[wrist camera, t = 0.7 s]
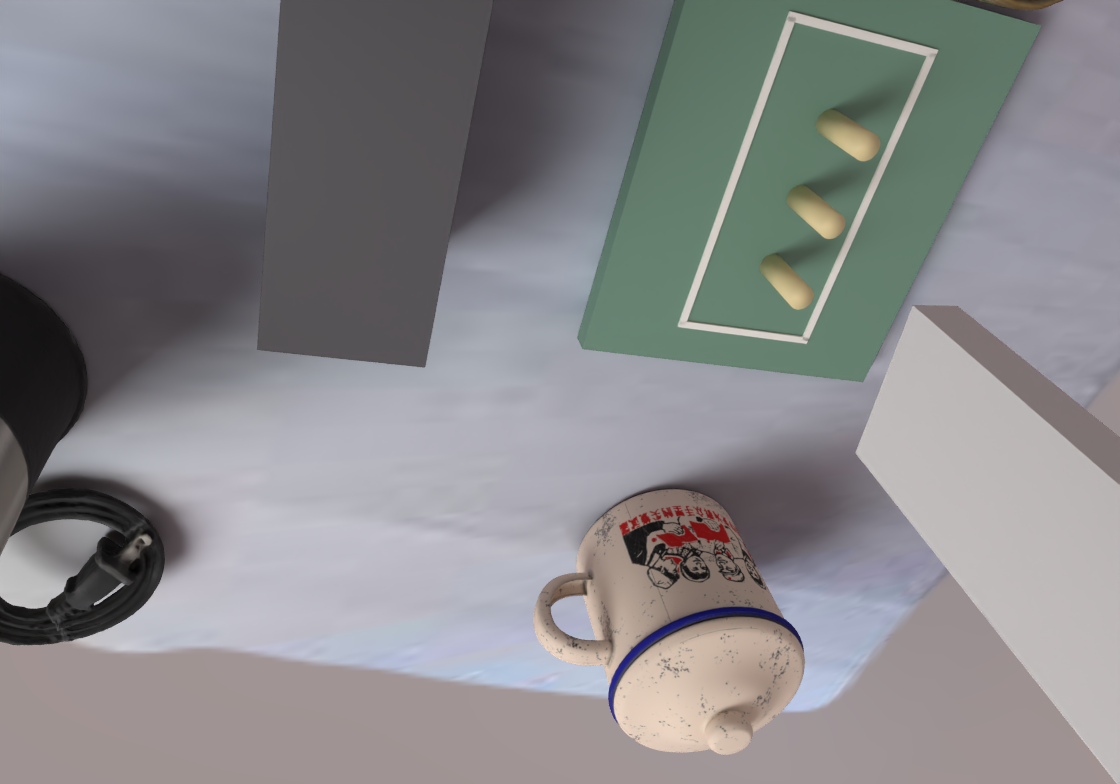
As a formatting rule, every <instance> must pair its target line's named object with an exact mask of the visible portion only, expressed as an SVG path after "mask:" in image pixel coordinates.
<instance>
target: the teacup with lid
mask: <svg viewBox="0 0 1120 784" xmlns="http://www.w3.org/2000/svg"><path fill="white" fill-rule="evenodd" d="M570 596H584V600H585V603H586V607H587V610H588V614H589V617H590V621H591V624H592V628H593V631H594V635H595V638H596V640H582V639H577V638H574V637H572V636H569V635H568V634H566V633H564V632H563V631H561V630H560V629H559V628H558V627H557V626H556V624H555V623H554V621H553V618H552V615H551V606H552V605H553V604H554V603H555V602H556V601H558V600H560V599H562V598H565V597H570ZM533 621H534V629H535V632H536V635H537V638H538V640H539V641H540V643H541V645H542V646H543V647H544V648H545V649H546V650H547V651H548V652H549V653H551V654H552V655H554V656H555V657H557V658H559V659H561V660H563V661H565V662H568V663H572V664H577V665H603V666H604V669H605V673H606V676H607V680H608V683H609V695H608V699H609V706H610V709H611V713H612V715H613V717H614V719H615V720H616V722H617V723H618V724H619V725H620V727H621V728H622V729H623V731H624V732H625V733H626V734H627V735H629V736H630V737H631V738H632V739H634V740H635V741H637V742H638V743H640V744H642V745H644V746H647V747H650V748H652V749H657V750H661V751H667V752H695V751H702V750H707V749H712V750H713V751H715V752H716V753H719V754H724V755H726V754H733V753H736V752H738V751H741V750H742V749H744V748H745V747H746V746H747V745H748V744H749V743H750V741H751V739H752V736H753V732H755V731H756V730H758V729H760V728H761V727H763V726H764V725H766V724H767V723H768V722H770V721H771V720H772V719H773V718H775V717H776V716H777V715H778V714H779V713H780V712H781V711H782V710H783V709H784V708H785V707H786V706H787V705H788V704H789V702H790V701H791V700H792V698H793V697H794V695H795V694H796V692H797V690H798V688H799V686H800V683H801V681H802V677H803V673H804V664H805V659H804V650H803V644H802V641H801V638H800V636H799V634H798V633H797V631H796V629H795V628H794V627H793V626H792V625H791V624H790V623H789V622H788V621H787V620H785V619H784V618H783V616H782V614H781V612H780V610H779V608H778V606H777V604H776V603H775V601H774V599H773V597H772V595H771V593H770V591H769V589H768V587H767V586H766V584H765V582H764V580H763V578H762V576H761V574H760V572H759V571H758V569H757V567H756V565H755V563H754V561H753V559H752V557H751V555H750V554H749V552H748V550H747V548H746V546H745V544H744V542H743V540H742V539H741V537H740V535H739V533H738V531H737V529H736V527H735V525H734V523H733V522H732V520H731V518H730V516H729V515H728V513H727V512H726V511H725V509H724V508H723V507H722V506H721V505H720V504H719V503H717V502H716V501H714V500H713V499H711V498H709V497H707V496H705V495H703V494H700V493H697V492H693V491H688V490H680V489H666V490H657V491H652V492H647V493H644V494H641V495H638V496H635V497H632V498H630V499H628V500H626V501H624V502H622V503H620V504H618V505H617V506H615V507H613V508H612V509H610V510H609V511H608V512H607V513H605V514H604V515H603V516H602V517H601V518H599V519H598V520H597V522H596V523H595V524H594V525H593V526H592V527H591V528H590V530H589V531H588V533H587V534H586V536H585V537H584V539H583V541H582V543H581V546H580V548H579V552H578V556H577V573H571V574H565V575H562V576H559V577H556V578H555V579H553V580H551V581H550V582H549V583H548V584H547V585H546V586H545V587H544V588H543V590H542V591H541V593H540V595H539V597H538V599H537V603H536V606H535V610H534V619H533Z"/></svg>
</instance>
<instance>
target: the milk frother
mask: <svg viewBox="0 0 1120 784" xmlns="http://www.w3.org/2000/svg"><path fill="white" fill-rule="evenodd" d="M86 393H87V372H86V367H85V363H84V359H83V356H82V353H81V352H80V350H79V347H78V344H77V343H76V341H75V340H74V338H73V337H72V335H71V333H70V331H69V330H68V328H67V327H66V326H65V325H64V323H63V322H62V321H61V320H60V319H59V318H58V317H57V316H56V314H55V313H54V311H53V310H52V309H50V308H49V307H48V306H47V305H46V304H45V303H44V302H43V301H42V300H40V299H39V298H38V297H36V296H34V295H33V294H32V293H31V292H29V291H27V290H26V289H25V288H24V287H22V286H20V285H18V284H16V283H15V282H13V281H11V280H10V279H8V278H6V277H4V276H2V275H0V555H1V553H2V551H3V549H4V547H5V545H6V543H7V541H8V539H9V537H11V536H12V535H14V534H15V533H17V532H19V531H20V530H22V529H24V528H26V527H28V526H31V525H35V524H38V523H42V522H47V521H52V520H61V519H78V520H89V521H93V522H97V523H101V524H104V525H106V526H108V527H110V528H113V529H115V530H116V531H118V532H120V533H121V534H123V535H124V536H125V537H126V540H125V542H124V544H123V546H122V547H120V546H119V545H118V544H116V543H115V542H114V541H112V540H111V539H109V538H107V537H102V538H101V539H100V540H99V542H98V544H97V552H96V553H95V554H93V555H92V556H91V557H90V559H89V560H88V562H87V563H86V564H85V565H84V566H83V568H82V569H81V571H80V572H79V573H78V574H77V575H76V576H74V577H70V578H69V579H68V580H67V583H66V586H65V588H64V592H62V593H61V594H60V595H58V596H57V597H56V598H54V599H52V600H51V601H50V603H49V604H48V606H47V607H44V608H38V609H28V608H25V607H19V606H13V605H11V604H9V603H7V602H6V601H5V600H3V599H2V598H1V597H0V642H4V643H9V644H12V645H44V644H54V643H59V642H63V641H64V642H68V641H73V640H75V639H78V638H83V637H87V636H90V635H93V634H95V633H98V632H100V631H104V630H106V629H108V628H110V627H112V626H114V625H116V624H118V623H120V622H122V621H124V620H125V619H127V618H128V617H130V616H131V615H133V614H134V613H135V612H136V611H137V610H139V609H140V608H141V607H142V606H143V605H144V604H145V603H146V602H147V601H148V599H149V598H150V597H151V596H152V594H153V593H154V591H155V589H156V588H157V586H158V584H159V582H160V580H161V577H162V574H163V569H164V563H165V557H164V548H163V544H162V541H161V538H160V536H159V534H158V532H157V531H156V529H155V528H154V527H153V525H152V524H151V523H150V521H149V520H148V519H146V518H145V517H144V516H143V515H142V514H141V513H139V512H138V511H137V510H136V509H134V508H133V507H131V506H130V505H128V504H126V503H124V502H123V501H121V500H119V499H116V498H114V497H112V496H109V495H107V494H103V493H100V492H97V491H93V490H81V489H56V490H50V491H47V492H40V493H35V494H32V495H29V494H30V492H31V490H32V488H33V486H34V484H35V482H36V481H37V479H38V477H39V475H40V473H41V471H42V469H43V467H44V466H45V464H46V462H47V460H48V459H49V457H50V454H51V453H52V451H53V449H54V448H55V446H56V444H57V443H58V442H59V441H60V440H61V439H62V438H63V437H64V436H65V435H66V434H67V433H68V431H69V430H70V429H71V428H72V427H73V426H74V424H75V422H76V421H77V420H78V418H79V416H80V414H81V412H82V410H83V407H84V401H85V398H86ZM120 583H123V584H125V585H124V586H123V587H122V588H121V589H119V590H118V591H117V592H115V593H114V594H112V595H111V596H109V597H108V598H106V599H105V600H103V601H102V602H100V603H99V604H97V605H94V603H95V602H97V601H99V600H100V599H102V598H103V597H105V596H106V595H108V594H109V593H110V592H111V591H113V590H114V589H115V588H116V587H117V586H118V585H119V584H120Z"/></svg>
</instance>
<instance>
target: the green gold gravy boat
mask: <svg viewBox="0 0 1120 784" xmlns="http://www.w3.org/2000/svg"><path fill="white" fill-rule="evenodd" d="M978 1H981V2H985V3H989V4H993V5H997V6H1001V7H1005V8H1011V9H1015V10H1037V9H1043V8H1046V7H1049V6H1051V5H1053V4H1055V3H1058V2H1061V1H1063V0H978Z"/></svg>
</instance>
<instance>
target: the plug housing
mask: <svg viewBox="0 0 1120 784" xmlns="http://www.w3.org/2000/svg"><path fill="white" fill-rule="evenodd" d="M493 1H494V0H281V3H280V18H279V33H278V48H277V63H276V78H275V93H274V108H273V123H272V138H271V153H270V167H269V182H268V197H267V212H266V227H265V242H264V257H263V272H262V287H261V302H260V317H259V332H258V347H257V350H264V351H273V352H283V353H292V354H302V355H311V356H321V357H330V358H340V359H349V360H359V361H368V362H378V363H387V364H397V365H406V366H416V367H425V365H426V360H427V354H428V349H429V344H430V338H431V333H432V328H433V322H434V317H435V312H436V306H437V301H438V296H439V290H440V285H441V279H442V274H443V269H444V263H445V258H446V253H447V247H448V242H449V237H450V231H451V226H452V221H453V215H454V210H455V204H456V199H457V194H458V188H459V183H460V178H461V172H462V167H463V162H464V156H465V151H466V146H467V140H468V135H469V129H470V124H471V119H472V113H473V108H474V103H475V97H476V92H477V87H478V81H479V76H480V71H481V65H482V60H483V54H484V49H485V44H486V38H487V33H488V28H489V22H490V17H491V12H492V6H493Z"/></svg>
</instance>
